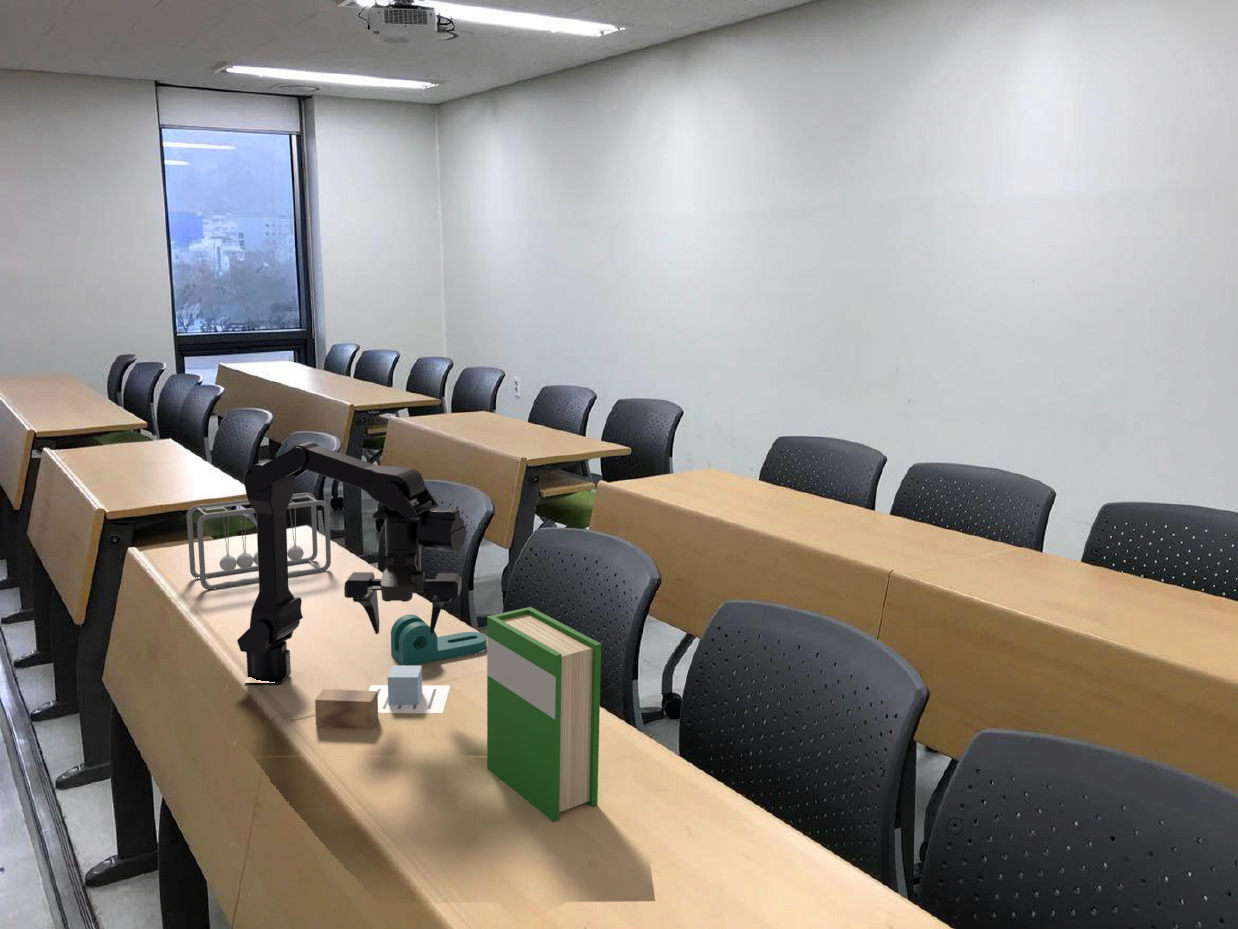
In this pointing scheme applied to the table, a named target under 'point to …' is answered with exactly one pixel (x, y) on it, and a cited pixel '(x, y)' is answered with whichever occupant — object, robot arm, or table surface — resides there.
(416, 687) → the cube
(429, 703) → the letter
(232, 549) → the table surface
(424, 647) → the bracket
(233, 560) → the newton's cradle
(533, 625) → the hardback book
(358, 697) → the walnut block
